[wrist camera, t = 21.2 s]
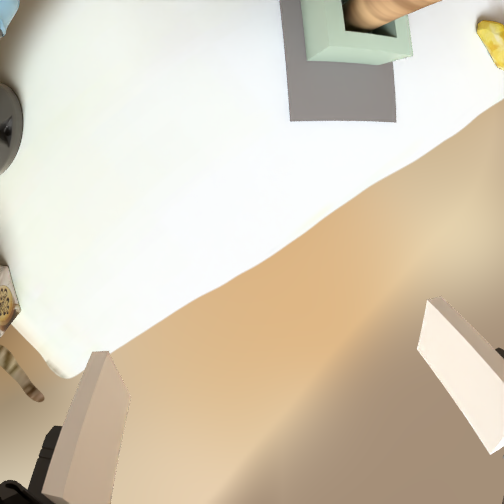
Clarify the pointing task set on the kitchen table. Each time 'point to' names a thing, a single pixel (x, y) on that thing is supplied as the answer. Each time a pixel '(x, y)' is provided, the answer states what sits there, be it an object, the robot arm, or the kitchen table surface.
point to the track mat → (332, 81)
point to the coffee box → (7, 300)
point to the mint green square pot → (351, 36)
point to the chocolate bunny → (493, 40)
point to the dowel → (377, 12)
